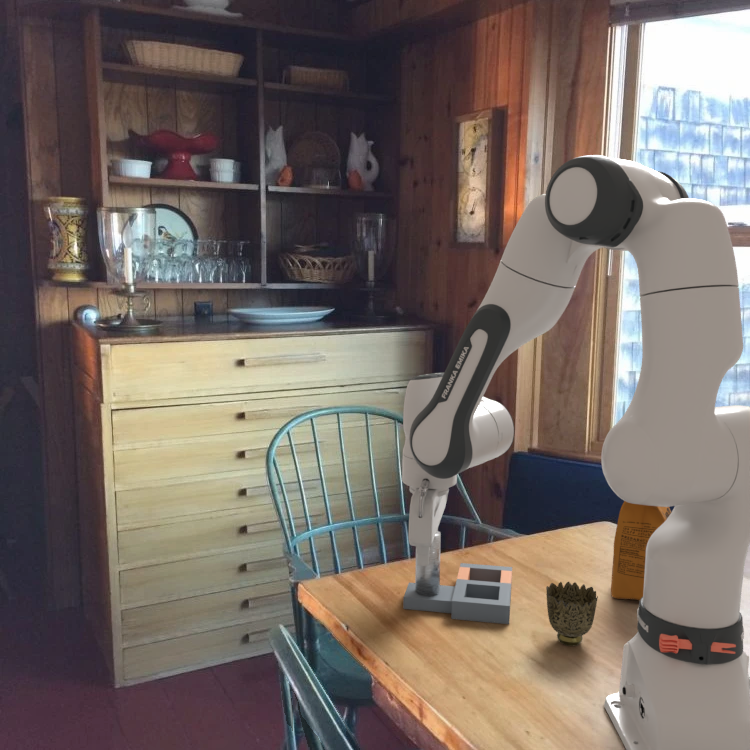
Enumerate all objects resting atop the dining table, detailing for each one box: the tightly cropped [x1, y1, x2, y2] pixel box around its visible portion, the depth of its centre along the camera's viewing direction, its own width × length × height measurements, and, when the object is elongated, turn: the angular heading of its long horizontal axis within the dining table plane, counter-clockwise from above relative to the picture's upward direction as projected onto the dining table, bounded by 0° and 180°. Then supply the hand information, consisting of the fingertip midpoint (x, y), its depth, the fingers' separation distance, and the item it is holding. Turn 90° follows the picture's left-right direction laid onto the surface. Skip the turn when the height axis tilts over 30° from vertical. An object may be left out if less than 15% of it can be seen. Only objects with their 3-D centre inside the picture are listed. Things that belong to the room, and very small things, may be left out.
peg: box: [414, 530, 442, 597], centre depth 131 cm, size 4×4×10 cm
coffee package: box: [610, 500, 672, 602], centre depth 135 cm, size 10×12×22 cm
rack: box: [402, 562, 513, 625], centre depth 133 cm, size 16×17×3 cm
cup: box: [545, 581, 599, 647], centre depth 118 cm, size 8×7×8 cm
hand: (427, 553), depth 131 cm, fingers open, 8 cm apart
